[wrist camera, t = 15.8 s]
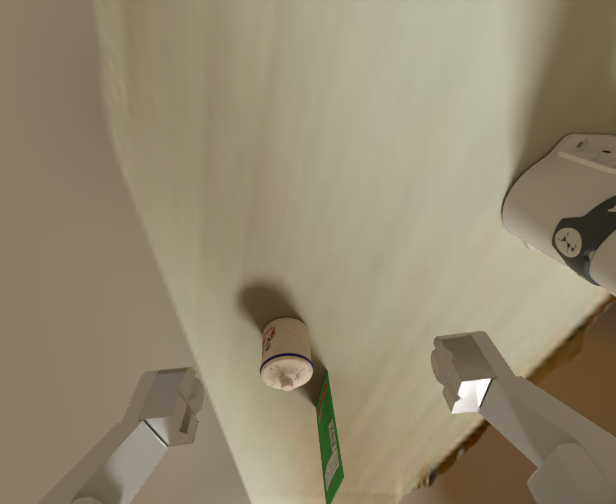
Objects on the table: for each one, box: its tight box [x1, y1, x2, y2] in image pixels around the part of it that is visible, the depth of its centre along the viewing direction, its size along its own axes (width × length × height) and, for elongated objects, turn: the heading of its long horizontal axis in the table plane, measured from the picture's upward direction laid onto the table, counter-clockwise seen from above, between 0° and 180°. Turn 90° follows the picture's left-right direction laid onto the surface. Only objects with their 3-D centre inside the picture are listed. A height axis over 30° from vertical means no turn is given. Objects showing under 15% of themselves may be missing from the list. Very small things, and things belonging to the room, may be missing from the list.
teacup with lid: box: [260, 318, 313, 391], centre depth 55 cm, size 12×9×12 cm
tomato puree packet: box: [316, 371, 344, 504], centre depth 62 cm, size 15×1×20 cm, turn 171°
